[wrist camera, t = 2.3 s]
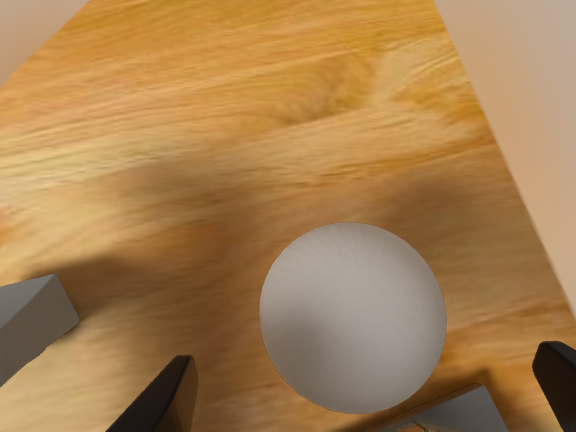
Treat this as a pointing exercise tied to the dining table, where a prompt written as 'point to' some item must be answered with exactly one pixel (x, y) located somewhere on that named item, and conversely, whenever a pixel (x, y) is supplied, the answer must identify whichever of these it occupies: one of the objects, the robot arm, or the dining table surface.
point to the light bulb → (352, 318)
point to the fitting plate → (449, 414)
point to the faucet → (31, 321)
